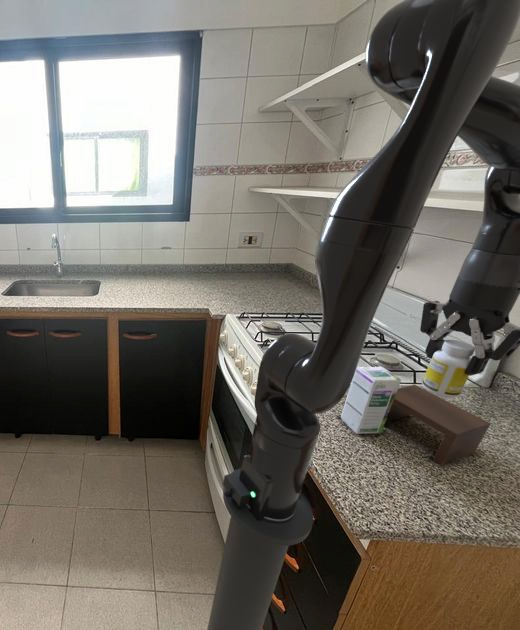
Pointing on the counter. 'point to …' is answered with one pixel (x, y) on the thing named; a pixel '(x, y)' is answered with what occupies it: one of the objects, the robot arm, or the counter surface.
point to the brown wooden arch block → (441, 421)
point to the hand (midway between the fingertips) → (450, 365)
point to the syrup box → (369, 399)
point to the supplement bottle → (448, 369)
